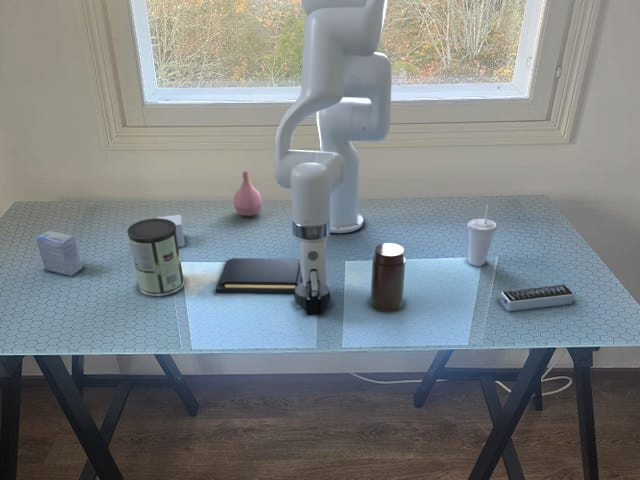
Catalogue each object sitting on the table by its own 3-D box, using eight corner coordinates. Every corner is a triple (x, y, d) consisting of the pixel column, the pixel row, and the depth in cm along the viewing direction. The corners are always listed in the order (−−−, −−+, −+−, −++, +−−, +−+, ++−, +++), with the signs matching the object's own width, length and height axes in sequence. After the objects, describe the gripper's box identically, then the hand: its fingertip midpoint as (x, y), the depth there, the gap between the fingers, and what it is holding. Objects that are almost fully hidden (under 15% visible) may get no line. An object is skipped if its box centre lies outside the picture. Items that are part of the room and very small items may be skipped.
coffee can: (153, 271, 152) (142, 215, 144) (192, 277, 149) (184, 221, 141) (129, 293, 144) (117, 234, 136) (170, 299, 141) (160, 240, 133)
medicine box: (83, 268, 154) (74, 235, 149) (70, 277, 151) (61, 243, 146) (57, 262, 157) (48, 229, 152) (44, 271, 154) (35, 237, 148)
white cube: (161, 249, 162) (157, 226, 158) (160, 239, 166) (156, 217, 163) (185, 246, 162) (181, 224, 159) (183, 236, 167) (180, 214, 164)
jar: (364, 305, 138) (366, 251, 130) (380, 292, 142) (383, 239, 134) (392, 315, 134) (395, 260, 127) (408, 301, 139) (412, 247, 131)
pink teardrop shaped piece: (238, 208, 181) (234, 166, 174) (264, 209, 180) (262, 167, 173) (232, 220, 175) (227, 177, 168) (259, 221, 174) (256, 177, 167)
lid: (320, 288, 142) (320, 277, 140) (335, 304, 136) (335, 293, 135) (289, 295, 140) (289, 285, 138) (303, 312, 134) (303, 301, 132)
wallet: (310, 255, 152) (303, 288, 140) (310, 263, 154) (303, 295, 141) (227, 253, 154) (213, 285, 142) (227, 260, 156) (214, 292, 143)
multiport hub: (572, 303, 136) (575, 294, 135) (508, 311, 134) (510, 302, 133) (562, 293, 140) (564, 284, 138) (499, 300, 138) (500, 291, 136)
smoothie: (491, 269, 149) (500, 212, 141) (462, 267, 150) (470, 210, 142) (490, 256, 154) (499, 201, 146) (462, 255, 155) (470, 199, 147)
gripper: (334, 246, 121) (333, 325, 132) (326, 209, 135) (326, 283, 146) (294, 247, 121) (297, 326, 131) (290, 211, 135) (293, 285, 145)
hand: (312, 303), depth 138 cm, fingers closed on lid, 7 cm apart
